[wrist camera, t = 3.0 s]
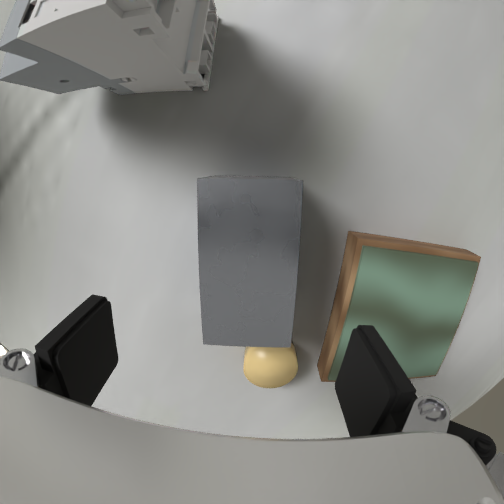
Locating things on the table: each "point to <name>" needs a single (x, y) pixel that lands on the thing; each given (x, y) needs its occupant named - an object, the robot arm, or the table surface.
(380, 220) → the table surface
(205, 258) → the block
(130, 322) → the table surface
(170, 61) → the circuit breaker
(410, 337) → the green board with frame
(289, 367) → the cream dome
